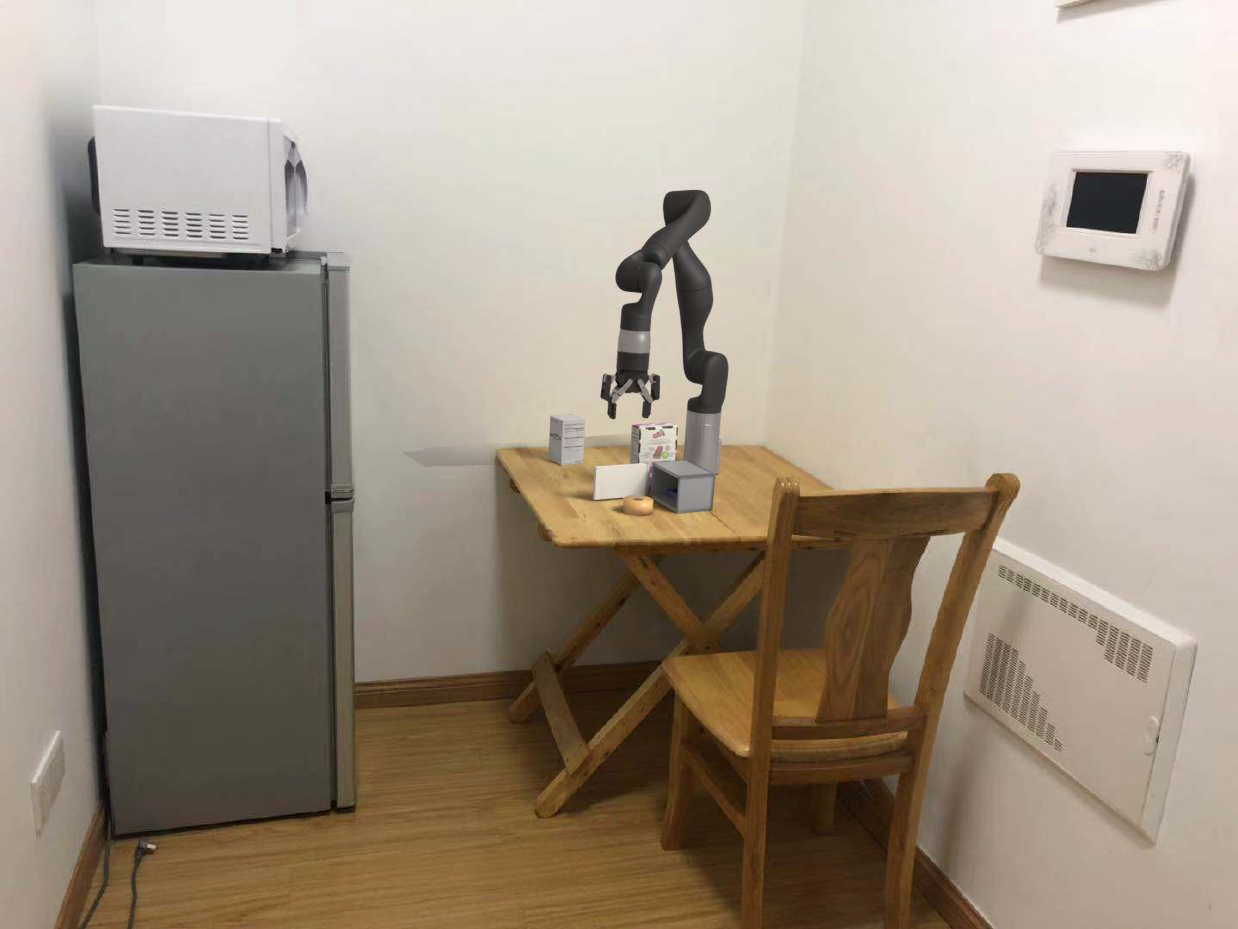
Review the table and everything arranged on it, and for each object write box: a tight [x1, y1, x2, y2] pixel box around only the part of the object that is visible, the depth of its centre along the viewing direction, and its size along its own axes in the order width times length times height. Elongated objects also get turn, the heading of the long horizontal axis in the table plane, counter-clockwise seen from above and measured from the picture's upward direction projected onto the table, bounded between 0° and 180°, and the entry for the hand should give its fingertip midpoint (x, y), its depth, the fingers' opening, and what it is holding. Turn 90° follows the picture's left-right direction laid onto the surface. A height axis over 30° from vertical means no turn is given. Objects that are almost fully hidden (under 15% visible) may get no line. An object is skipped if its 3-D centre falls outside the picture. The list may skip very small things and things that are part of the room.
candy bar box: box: [629, 421, 679, 491], centre depth 252 cm, size 11×5×16 cm, turn 118°
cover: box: [592, 463, 651, 501], centre depth 241 cm, size 15×1×8 cm, turn 116°
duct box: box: [649, 459, 717, 514], centre depth 240 cm, size 10×14×9 cm
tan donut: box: [622, 495, 654, 517], centre depth 232 cm, size 7×7×3 cm
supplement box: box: [547, 413, 586, 466], centre depth 273 cm, size 7×7×13 cm
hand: (628, 418), depth 234 cm, fingers open, 8 cm apart
